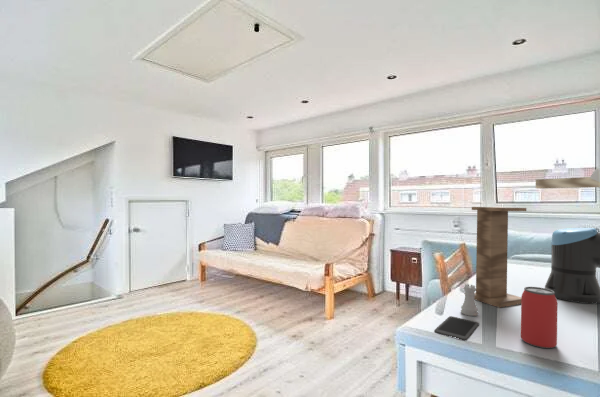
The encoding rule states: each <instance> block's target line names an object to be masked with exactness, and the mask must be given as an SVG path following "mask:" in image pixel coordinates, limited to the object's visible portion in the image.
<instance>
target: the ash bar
mask: <svg viewBox="0 0 600 397" xmlns="http://www.w3.org/2000/svg"><path fill="white" fill-rule="evenodd" d="M590 177H591V176H587V177H585V176H583V177H566V178H565V177H562V178H544V179H542V178H540V179H535V189H577V188H578V189H582V188H588V189H589V188H590V189H591V188H600V182H598V181H596V180H593V179H591V178H590Z"/></svg>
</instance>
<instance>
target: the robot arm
mask: <svg viewBox="0 0 600 397" xmlns="http://www.w3.org/2000/svg"><path fill="white" fill-rule="evenodd" d="M589 177H590V178H591V179H593V180H596V181H598V182H600V168H598V167H596V168H595V169H594V171H593V172H592V174H591V175H590V176H589ZM550 245H551V256H550V257H551V258H550V259H551V262H550V263H551V270H550V273H549V276H548V278H547V280H546V283H545V285H544V288H545V289H549V290H552V291H554V292H555V294H554V295H555V297H556V299H557V300H558V299H559V300H563V301H568V302H573V303H574V302H575V303H582V304H592V303H596V304H600V284H599V282H598V279H597V268H598V269H600V232H599V231H598V230H597V229H596V228H594V227H569V228H560V229H559V228H558V229H556V230H554V231H553V232H552V234H551V241H550Z"/></svg>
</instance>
